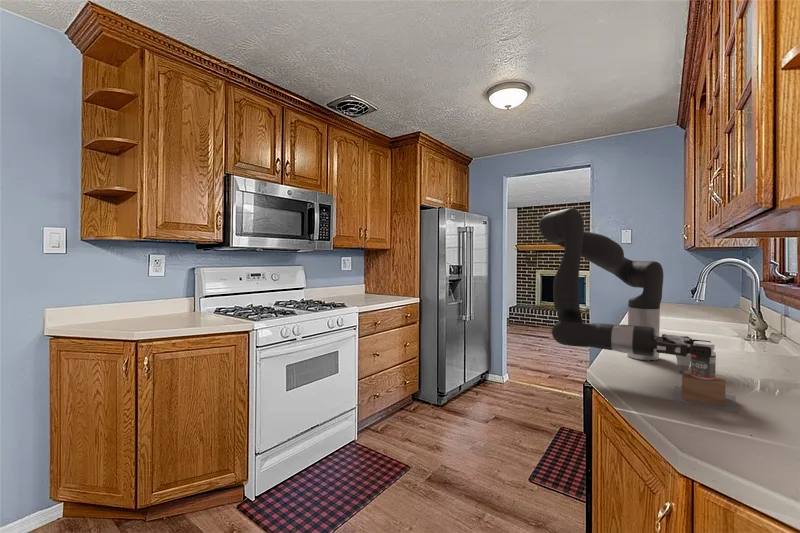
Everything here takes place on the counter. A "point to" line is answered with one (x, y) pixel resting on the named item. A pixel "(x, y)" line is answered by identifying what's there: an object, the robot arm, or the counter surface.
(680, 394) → the mat
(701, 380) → the walnut block
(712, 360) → the pill bottle
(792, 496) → the counter surface
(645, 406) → the counter surface
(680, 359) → the lightbulb
